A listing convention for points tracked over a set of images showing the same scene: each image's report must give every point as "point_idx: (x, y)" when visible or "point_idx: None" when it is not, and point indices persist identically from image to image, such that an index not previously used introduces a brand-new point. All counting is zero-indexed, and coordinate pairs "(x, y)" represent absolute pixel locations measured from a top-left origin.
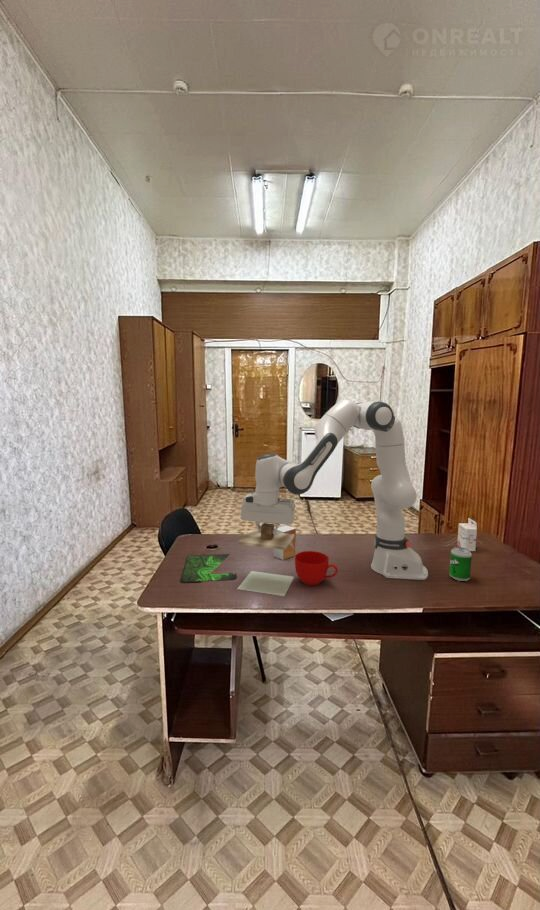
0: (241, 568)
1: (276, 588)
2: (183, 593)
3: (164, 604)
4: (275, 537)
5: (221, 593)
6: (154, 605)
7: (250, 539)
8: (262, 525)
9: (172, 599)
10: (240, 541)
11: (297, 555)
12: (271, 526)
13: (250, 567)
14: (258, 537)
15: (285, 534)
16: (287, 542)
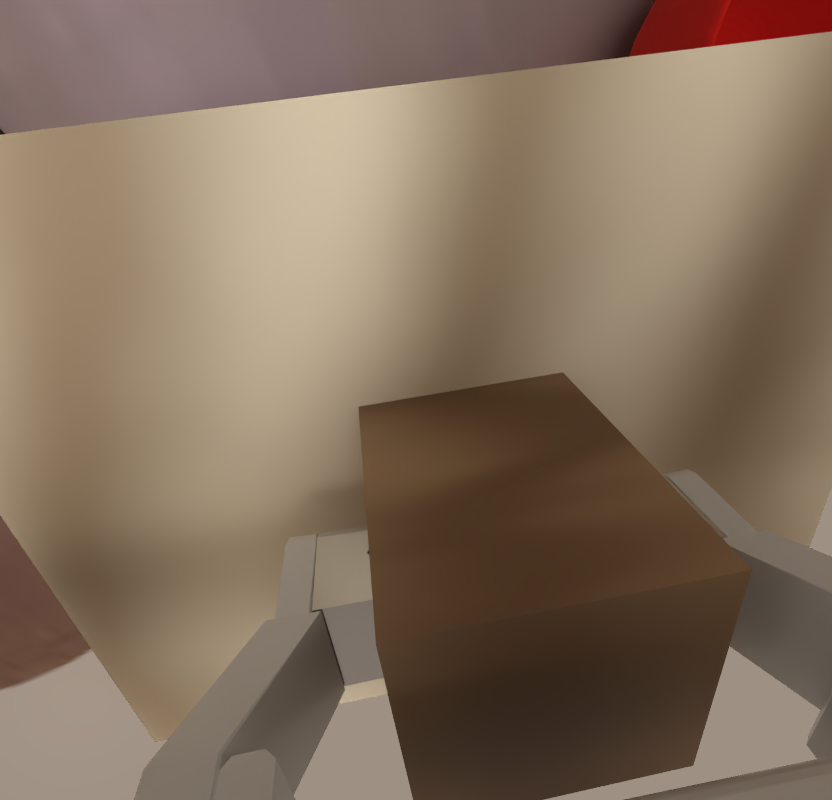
0: (28, 84)
1: None
2: (22, 574)
3: (47, 663)
4: (600, 393)
5: None
6: (17, 683)
7: (251, 631)
8: (439, 790)
9: (34, 627)
10: (176, 728)
11: (709, 30)
12: (694, 734)
13: (87, 15)
14: (317, 521)
15: (784, 121)
16: (807, 487)
